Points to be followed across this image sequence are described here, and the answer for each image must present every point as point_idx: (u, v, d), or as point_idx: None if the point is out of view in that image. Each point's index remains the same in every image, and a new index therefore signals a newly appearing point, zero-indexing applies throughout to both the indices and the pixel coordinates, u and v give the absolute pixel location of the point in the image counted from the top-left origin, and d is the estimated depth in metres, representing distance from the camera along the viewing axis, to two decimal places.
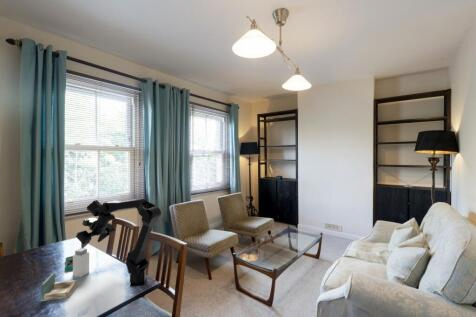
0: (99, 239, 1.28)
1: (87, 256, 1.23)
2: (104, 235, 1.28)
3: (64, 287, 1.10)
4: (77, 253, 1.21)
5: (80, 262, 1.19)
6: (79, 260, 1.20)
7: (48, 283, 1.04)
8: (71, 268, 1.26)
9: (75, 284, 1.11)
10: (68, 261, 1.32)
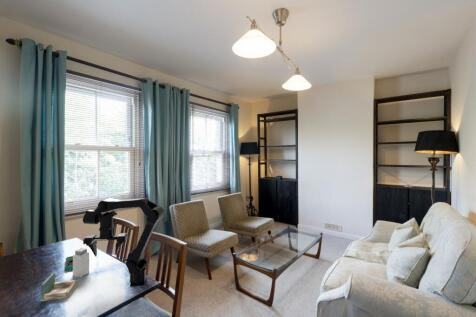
0: None
1: (87, 256, 1.23)
2: None
3: (64, 287, 1.10)
4: (77, 253, 1.21)
5: (80, 262, 1.19)
6: (79, 260, 1.20)
7: (48, 283, 1.04)
8: (70, 268, 1.26)
9: (75, 284, 1.11)
10: (68, 261, 1.32)
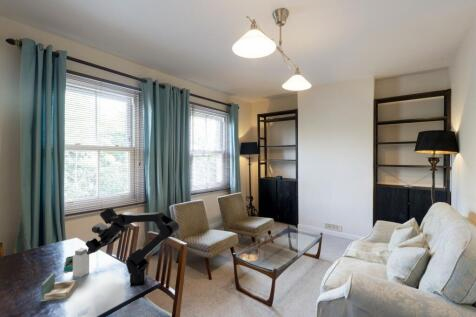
0: (103, 244, 1.25)
1: (87, 256, 1.23)
2: (109, 241, 1.25)
3: (64, 287, 1.10)
4: (77, 253, 1.21)
5: (80, 262, 1.19)
6: (79, 260, 1.20)
7: (48, 283, 1.04)
8: (70, 268, 1.26)
9: (75, 284, 1.11)
10: (68, 261, 1.32)
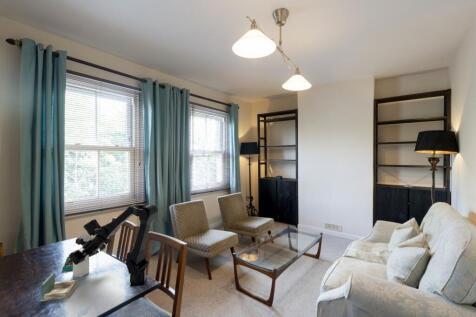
0: None
1: (87, 256, 1.23)
2: (91, 253, 1.25)
3: (64, 287, 1.10)
4: None
5: None
6: None
7: (48, 283, 1.04)
8: (68, 268, 1.25)
9: (75, 284, 1.11)
10: (67, 261, 1.32)
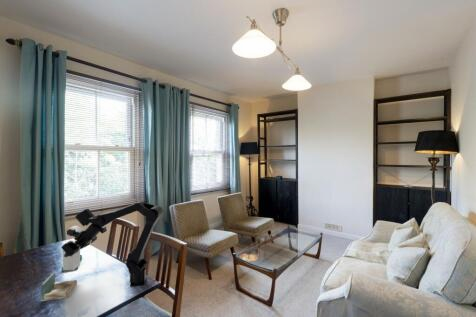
0: None
1: None
2: (82, 245, 1.19)
3: (64, 287, 1.10)
4: None
5: None
6: None
7: (48, 283, 1.04)
8: None
9: (75, 284, 1.11)
10: None
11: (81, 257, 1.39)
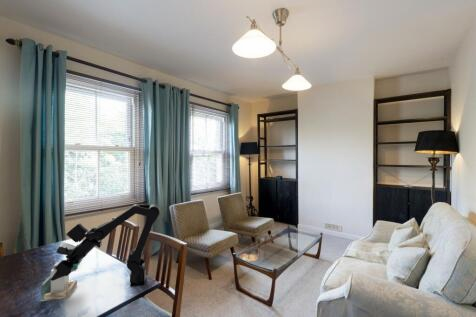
0: None
1: None
2: None
3: None
4: None
5: (63, 277, 1.04)
6: None
7: (48, 283, 1.04)
8: None
9: (75, 284, 1.11)
10: None
11: None
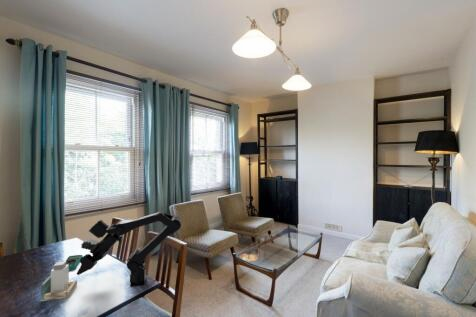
0: None
1: (67, 269, 1.08)
2: (98, 258, 1.15)
3: None
4: (57, 268, 1.04)
5: (63, 277, 1.04)
6: (61, 275, 1.04)
7: (48, 283, 1.04)
8: None
9: (75, 284, 1.11)
10: (67, 260, 1.32)
11: None
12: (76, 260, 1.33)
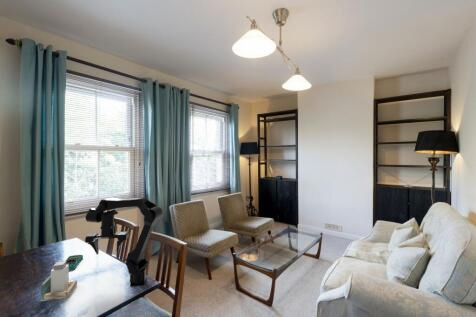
0: None
1: (67, 269, 1.08)
2: None
3: None
4: (57, 268, 1.04)
5: (63, 277, 1.04)
6: (61, 275, 1.04)
7: (48, 283, 1.04)
8: None
9: (75, 284, 1.11)
10: (67, 260, 1.32)
11: (82, 257, 1.39)
12: (76, 260, 1.33)
